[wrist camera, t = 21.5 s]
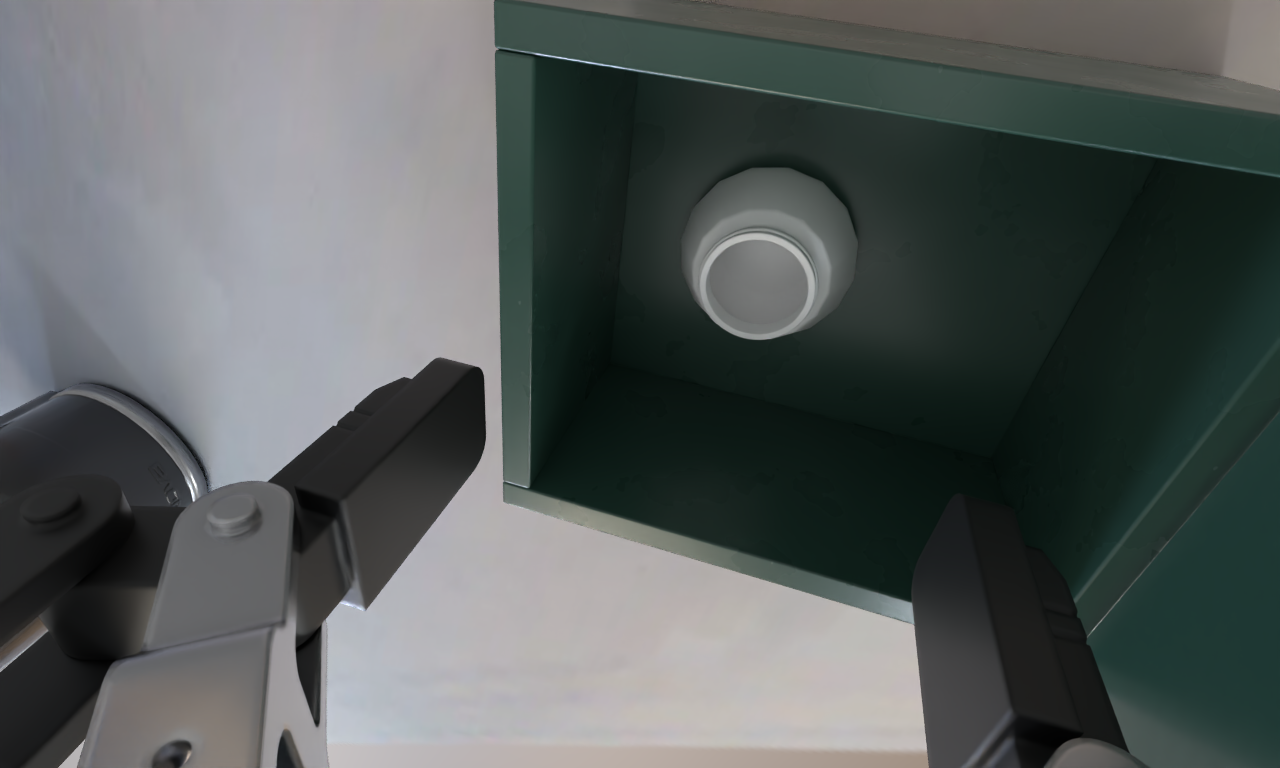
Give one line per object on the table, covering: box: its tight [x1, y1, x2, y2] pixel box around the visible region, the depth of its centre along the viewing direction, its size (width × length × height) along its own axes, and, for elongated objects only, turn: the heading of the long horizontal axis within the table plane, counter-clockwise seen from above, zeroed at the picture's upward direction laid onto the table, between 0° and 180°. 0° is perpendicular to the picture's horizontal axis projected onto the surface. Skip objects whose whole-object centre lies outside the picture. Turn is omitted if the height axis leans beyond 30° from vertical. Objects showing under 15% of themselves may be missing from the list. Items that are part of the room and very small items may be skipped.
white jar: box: [681, 168, 858, 340], centre depth 18 cm, size 5×3×5 cm
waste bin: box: [494, 0, 1280, 637], centre depth 16 cm, size 15×12×8 cm
